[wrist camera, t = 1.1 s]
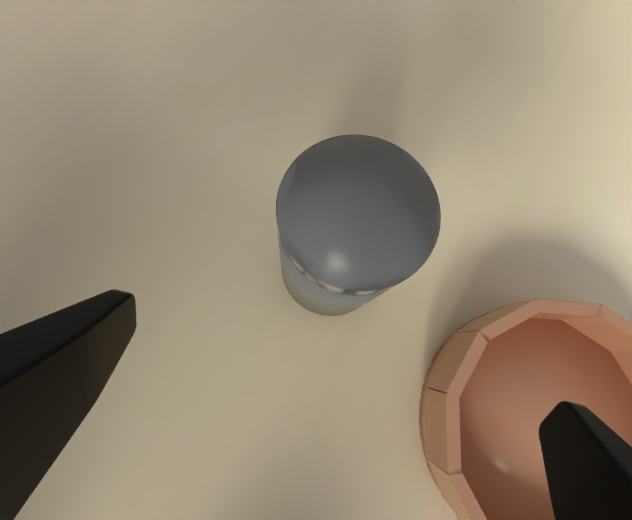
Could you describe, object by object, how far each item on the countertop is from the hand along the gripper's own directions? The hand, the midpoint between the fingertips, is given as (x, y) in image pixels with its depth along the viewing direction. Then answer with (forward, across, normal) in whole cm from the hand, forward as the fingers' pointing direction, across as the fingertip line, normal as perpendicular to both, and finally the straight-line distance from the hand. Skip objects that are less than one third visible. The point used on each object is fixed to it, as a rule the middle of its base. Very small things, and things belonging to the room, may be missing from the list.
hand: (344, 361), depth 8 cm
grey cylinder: (+12, 0, +5) cm, 13 cm away
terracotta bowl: (+8, -12, +9) cm, 18 cm away
